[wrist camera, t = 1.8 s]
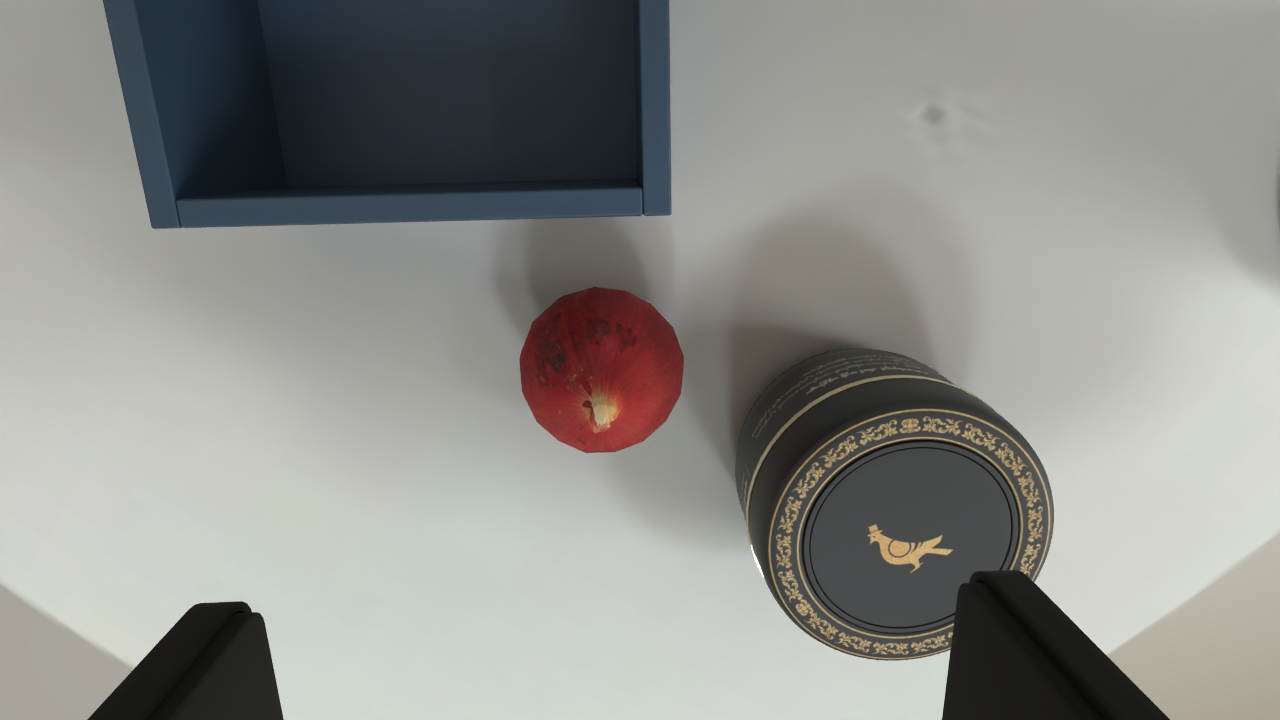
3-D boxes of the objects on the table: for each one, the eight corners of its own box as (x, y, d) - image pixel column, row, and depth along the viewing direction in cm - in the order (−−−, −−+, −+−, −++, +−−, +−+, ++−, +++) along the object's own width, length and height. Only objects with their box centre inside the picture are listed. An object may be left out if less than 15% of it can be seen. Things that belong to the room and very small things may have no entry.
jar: (962, 530, 32) (1063, 644, 24) (741, 567, 32) (777, 690, 25) (951, 316, 29) (1063, 372, 22) (710, 358, 29) (739, 427, 22)
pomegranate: (503, 338, 29) (460, 406, 21) (607, 241, 28) (600, 276, 20) (602, 435, 30) (595, 533, 22) (704, 346, 29) (733, 416, 21)
